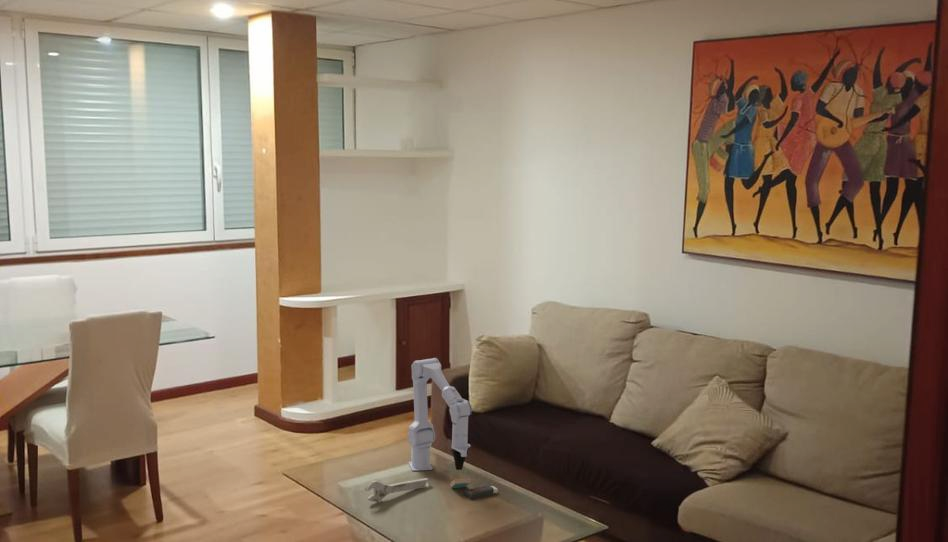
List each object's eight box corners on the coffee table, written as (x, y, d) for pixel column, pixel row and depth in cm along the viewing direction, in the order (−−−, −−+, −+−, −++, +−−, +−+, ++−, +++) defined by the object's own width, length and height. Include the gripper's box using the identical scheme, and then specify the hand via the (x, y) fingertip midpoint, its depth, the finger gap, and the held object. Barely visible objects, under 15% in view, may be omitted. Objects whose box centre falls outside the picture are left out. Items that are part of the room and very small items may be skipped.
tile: (450, 483, 302) (454, 479, 295) (465, 482, 304) (470, 478, 297) (450, 487, 302) (455, 483, 295) (466, 486, 303) (471, 482, 296)
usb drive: (463, 496, 295) (463, 489, 295) (491, 490, 302) (491, 482, 301) (471, 501, 291) (471, 493, 291) (499, 494, 297) (499, 487, 297)
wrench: (429, 493, 303) (366, 505, 282) (426, 492, 305) (362, 504, 283) (432, 472, 303) (368, 482, 282) (428, 471, 304) (365, 481, 283)
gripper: (475, 439, 294) (474, 475, 296) (465, 427, 308) (464, 461, 310) (456, 440, 292) (455, 476, 294) (447, 428, 306) (446, 462, 308)
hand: (458, 469), depth 302 cm, fingers closed
